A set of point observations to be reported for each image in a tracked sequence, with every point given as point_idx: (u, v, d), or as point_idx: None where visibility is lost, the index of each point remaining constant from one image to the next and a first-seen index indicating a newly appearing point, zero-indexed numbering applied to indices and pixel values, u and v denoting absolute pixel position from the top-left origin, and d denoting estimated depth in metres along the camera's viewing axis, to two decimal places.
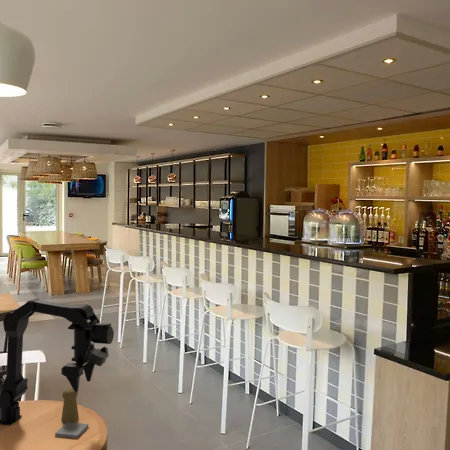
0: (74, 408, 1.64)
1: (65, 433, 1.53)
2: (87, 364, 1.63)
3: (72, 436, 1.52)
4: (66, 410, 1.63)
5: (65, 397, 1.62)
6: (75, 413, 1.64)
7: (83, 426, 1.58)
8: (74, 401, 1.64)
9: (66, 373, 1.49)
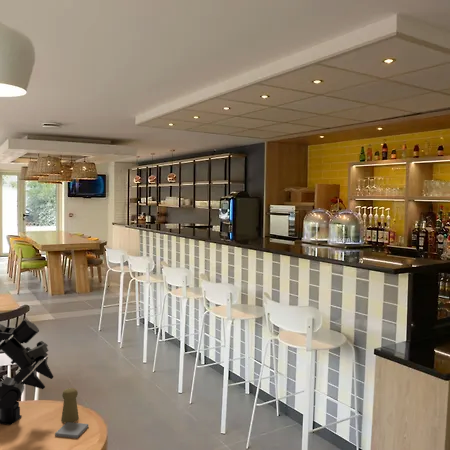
0: (74, 408, 1.64)
1: (65, 433, 1.53)
2: (40, 367, 1.68)
3: (72, 436, 1.52)
4: (66, 410, 1.63)
5: (65, 397, 1.62)
6: (75, 413, 1.64)
7: (83, 426, 1.58)
8: (74, 401, 1.64)
9: (20, 379, 1.54)
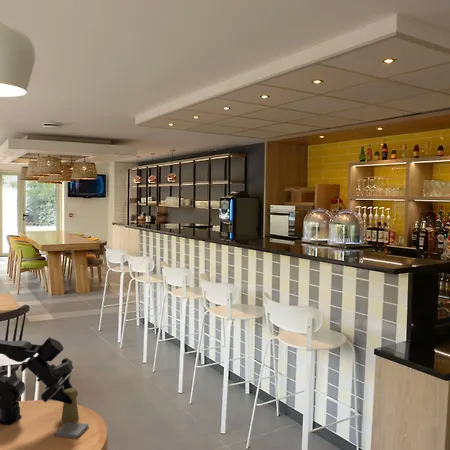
0: (74, 408, 1.64)
1: (65, 433, 1.53)
2: None
3: (72, 436, 1.52)
4: (66, 410, 1.63)
5: None
6: (75, 413, 1.64)
7: (83, 426, 1.58)
8: (74, 401, 1.64)
9: (47, 397, 1.55)
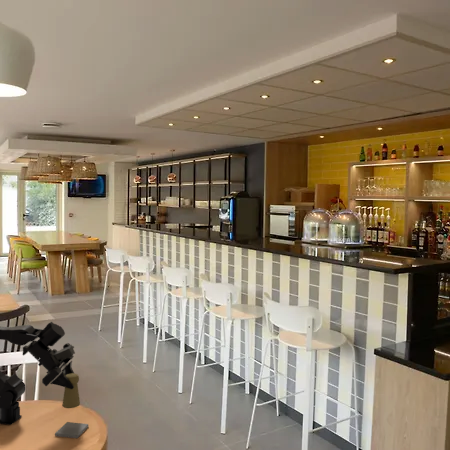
0: (75, 393, 1.62)
1: (65, 433, 1.53)
2: (64, 371, 1.66)
3: (72, 436, 1.52)
4: (67, 395, 1.61)
5: None
6: (76, 398, 1.62)
7: (83, 426, 1.58)
8: (75, 386, 1.63)
9: (48, 381, 1.54)
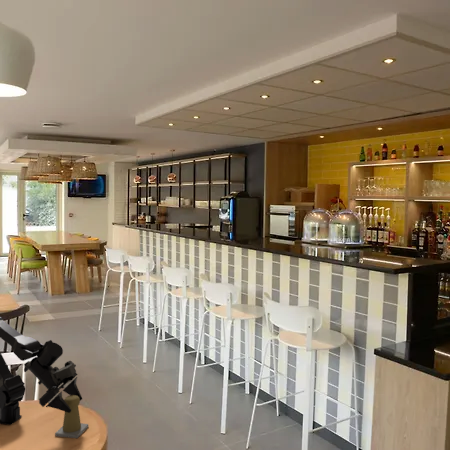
0: (75, 417, 1.55)
1: (65, 433, 1.53)
2: (69, 388, 1.61)
3: (72, 436, 1.52)
4: (67, 418, 1.54)
5: None
6: (76, 422, 1.55)
7: (83, 426, 1.58)
8: (75, 409, 1.55)
9: (45, 402, 1.47)
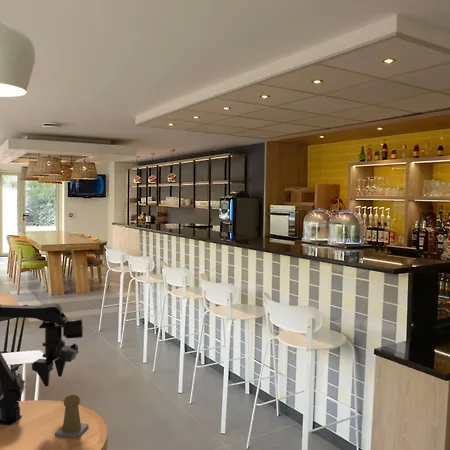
0: (75, 417, 1.55)
1: (65, 433, 1.53)
2: (58, 360, 1.71)
3: (72, 436, 1.52)
4: (67, 418, 1.54)
5: (66, 405, 1.54)
6: (76, 422, 1.55)
7: (83, 426, 1.58)
8: (75, 409, 1.55)
9: (36, 368, 1.57)
